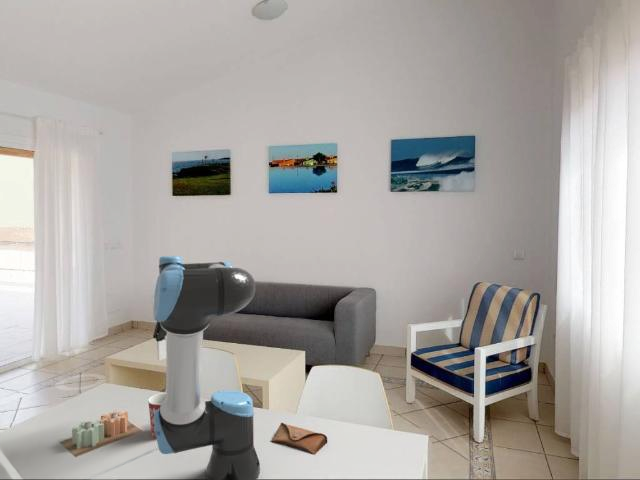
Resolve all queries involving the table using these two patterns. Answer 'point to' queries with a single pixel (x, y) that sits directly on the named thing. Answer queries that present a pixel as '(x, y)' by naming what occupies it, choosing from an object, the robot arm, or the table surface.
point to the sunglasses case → (299, 438)
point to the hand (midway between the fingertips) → (173, 363)
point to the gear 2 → (114, 423)
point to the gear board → (107, 440)
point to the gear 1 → (87, 434)
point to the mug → (153, 406)
